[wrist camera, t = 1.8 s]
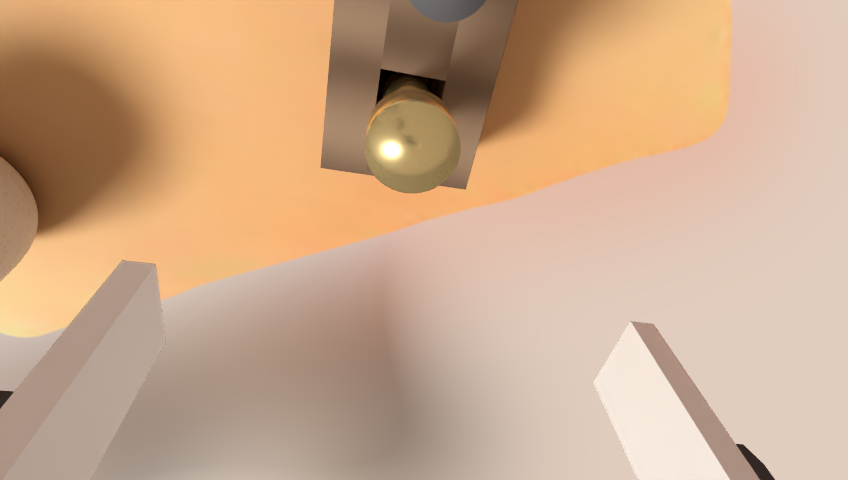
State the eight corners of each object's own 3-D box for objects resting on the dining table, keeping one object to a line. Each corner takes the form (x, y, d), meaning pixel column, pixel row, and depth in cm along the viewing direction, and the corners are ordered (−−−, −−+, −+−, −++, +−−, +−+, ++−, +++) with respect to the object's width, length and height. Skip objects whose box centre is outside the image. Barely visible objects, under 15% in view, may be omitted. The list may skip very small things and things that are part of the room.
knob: (375, 51, 29) (371, 94, 21) (449, 65, 30) (471, 112, 22) (366, 123, 32) (359, 186, 24) (434, 135, 33) (448, 199, 25)
